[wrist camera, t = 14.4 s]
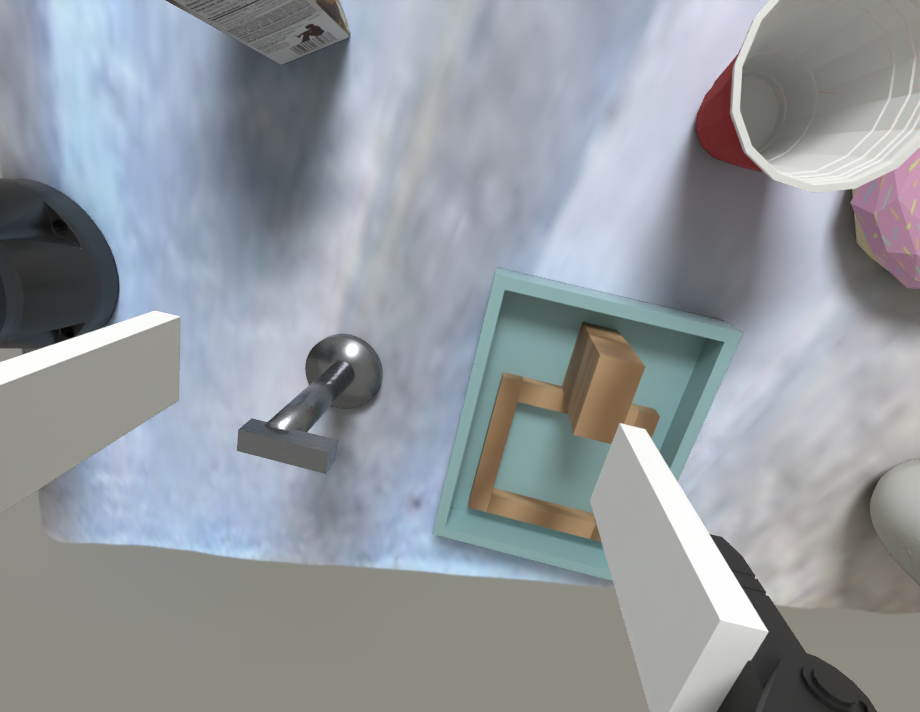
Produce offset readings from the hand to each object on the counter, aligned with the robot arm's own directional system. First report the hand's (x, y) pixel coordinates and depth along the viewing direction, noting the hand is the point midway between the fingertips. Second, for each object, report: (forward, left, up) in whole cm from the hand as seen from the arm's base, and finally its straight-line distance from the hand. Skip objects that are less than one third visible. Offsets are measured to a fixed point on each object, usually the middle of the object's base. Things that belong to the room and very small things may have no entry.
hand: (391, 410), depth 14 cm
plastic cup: (+16, +15, -28) cm, 36 cm away
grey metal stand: (-10, -12, -27) cm, 31 cm away
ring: (+11, -12, -27) cm, 31 cm away
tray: (+11, -12, -27) cm, 32 cm away
